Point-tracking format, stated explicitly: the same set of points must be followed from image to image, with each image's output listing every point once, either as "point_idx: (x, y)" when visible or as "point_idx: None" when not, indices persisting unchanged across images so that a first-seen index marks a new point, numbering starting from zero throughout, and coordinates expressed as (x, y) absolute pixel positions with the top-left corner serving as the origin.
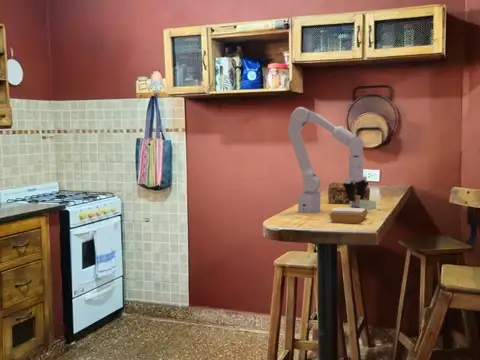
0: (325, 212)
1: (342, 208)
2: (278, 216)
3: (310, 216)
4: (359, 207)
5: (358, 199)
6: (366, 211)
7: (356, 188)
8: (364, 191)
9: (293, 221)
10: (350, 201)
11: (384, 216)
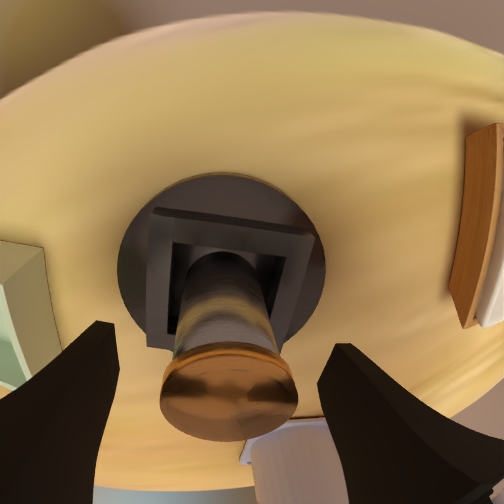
0: None
1: (496, 293)
2: None
3: None
4: (222, 274)
5: (255, 334)
6: (157, 208)
7: (92, 487)
8: (44, 383)
9: (480, 370)
10: None
11: (181, 35)
